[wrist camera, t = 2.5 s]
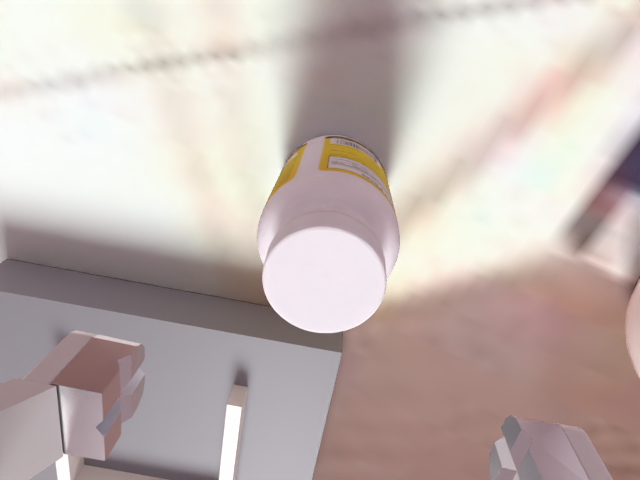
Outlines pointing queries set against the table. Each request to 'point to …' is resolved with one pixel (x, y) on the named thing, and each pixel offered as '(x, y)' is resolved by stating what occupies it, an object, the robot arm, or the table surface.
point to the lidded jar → (633, 328)
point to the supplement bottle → (328, 236)
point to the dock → (181, 376)
